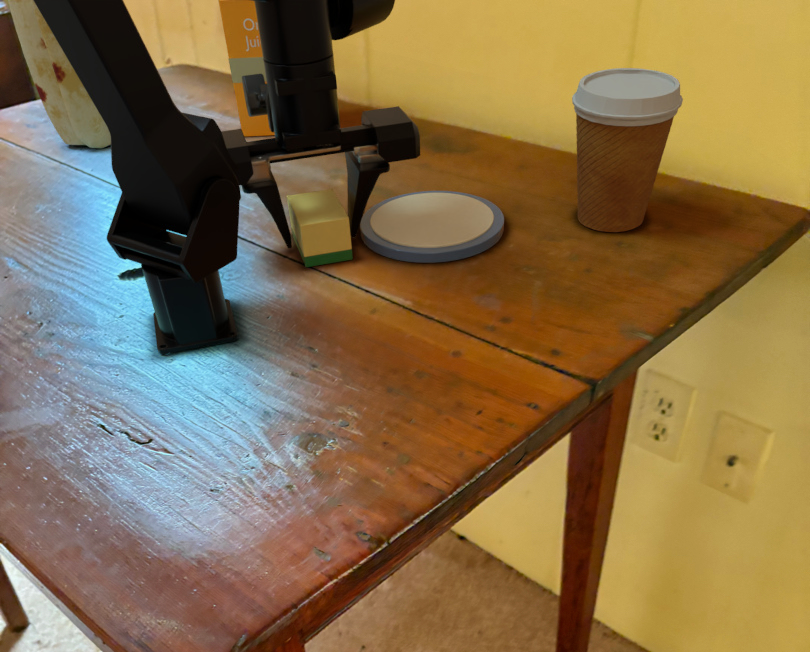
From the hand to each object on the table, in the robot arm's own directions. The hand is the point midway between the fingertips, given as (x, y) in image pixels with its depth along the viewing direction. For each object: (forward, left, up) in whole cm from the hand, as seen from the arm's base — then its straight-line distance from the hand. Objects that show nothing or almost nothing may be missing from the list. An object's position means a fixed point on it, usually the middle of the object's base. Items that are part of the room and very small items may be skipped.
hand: (321, 241), depth 76 cm
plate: (0, -11, -1) cm, 11 cm away
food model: (+39, +21, -1) cm, 44 cm away
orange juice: (+36, -2, -1) cm, 36 cm away
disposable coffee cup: (-4, -28, -1) cm, 28 cm away
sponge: (0, 0, -1) cm, 1 cm away
